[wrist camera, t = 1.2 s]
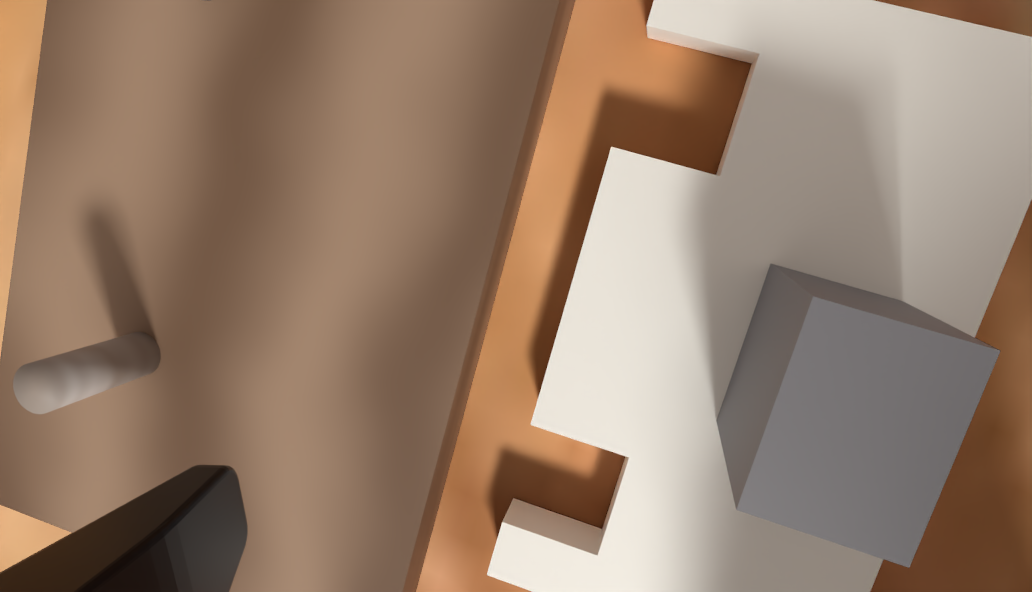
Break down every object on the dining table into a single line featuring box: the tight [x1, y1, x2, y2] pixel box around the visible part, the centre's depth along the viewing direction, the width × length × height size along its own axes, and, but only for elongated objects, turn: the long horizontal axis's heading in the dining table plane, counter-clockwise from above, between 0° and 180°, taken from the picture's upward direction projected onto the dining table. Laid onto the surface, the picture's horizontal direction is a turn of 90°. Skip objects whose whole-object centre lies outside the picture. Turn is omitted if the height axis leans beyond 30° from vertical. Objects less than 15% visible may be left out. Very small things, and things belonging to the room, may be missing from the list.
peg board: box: [0, 0, 575, 592], centre depth 18 cm, size 13×22×6 cm, turn 165°
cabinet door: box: [487, 0, 1032, 592], centre depth 16 cm, size 9×16×6 cm, turn 165°
